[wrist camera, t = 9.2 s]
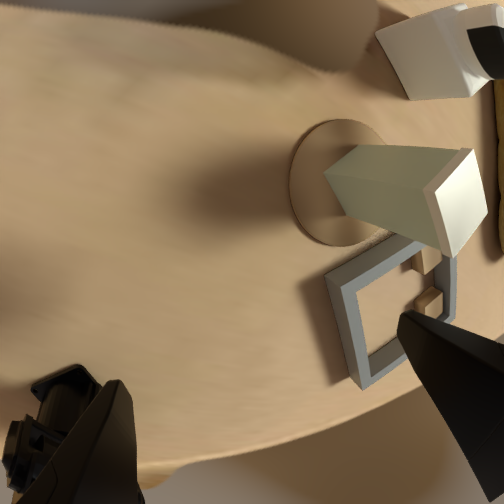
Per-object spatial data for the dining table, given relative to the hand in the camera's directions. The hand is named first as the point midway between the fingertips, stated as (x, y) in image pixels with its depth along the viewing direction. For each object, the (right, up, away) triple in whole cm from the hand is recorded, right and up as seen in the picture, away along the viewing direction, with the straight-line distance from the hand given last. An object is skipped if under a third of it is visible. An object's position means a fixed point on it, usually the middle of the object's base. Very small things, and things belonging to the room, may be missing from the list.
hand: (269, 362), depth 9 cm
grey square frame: (+14, -1, +20) cm, 24 cm away
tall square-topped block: (+7, +9, +14) cm, 18 cm away
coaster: (+7, +8, +14) cm, 18 cm away
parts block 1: (+16, +3, +19) cm, 25 cm away
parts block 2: (+19, -3, +22) cm, 29 cm away
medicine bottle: (+14, +21, +13) cm, 29 cm away
